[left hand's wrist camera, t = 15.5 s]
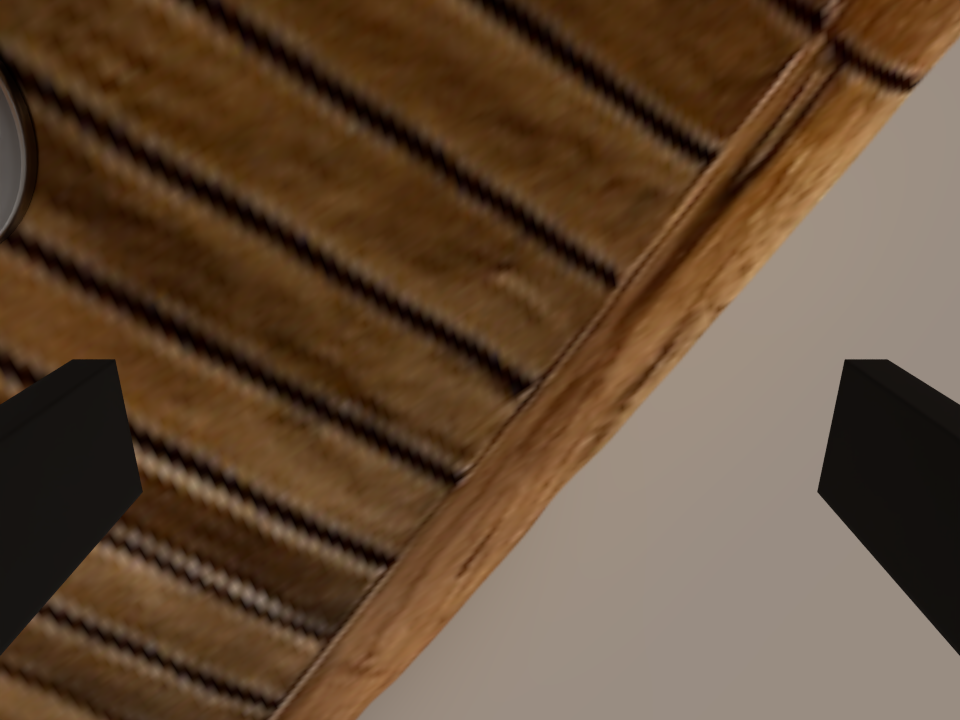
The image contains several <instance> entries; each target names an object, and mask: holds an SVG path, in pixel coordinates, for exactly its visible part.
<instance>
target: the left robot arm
mask: <svg viewBox="0 0 960 720" xmlns="http://www.w3.org/2000/svg"><path fill="white" fill-rule="evenodd" d="M36 175H37V150H36V142H35V135H34V131H33V127H32V123H31V119H30V116H29V113H28V110H27V107H26V105H25V102H24V100H23V98H22V95H21V93H20V91H19V89H18V87H17V85H16V83H15V81H14V79H13V78H12V76H11V74H10V73H9V71H8V70H7V68H6V67H5V65H4V64H3V62H2V61H1V59H0V243H2V242H3V241H4V240H5V239H6V238H8V236H9V235H10V234H11V233H12V232H13V231H14V230H15V229H16V227H17V226H18V225H19V223H20V222H21V220H22V219H23V217H24V215H25V213H26V211H27V209H28V207H29V204H30V202H31V199H32V195H33V192H34V188H35V182H36ZM142 492H143V491H142V486H141V482H140V477H139V472H138V467H137V462H136V457H135V453H134V448H133V443H132V438H131V433H130V429H129V424H128V419H127V414H126V409H125V404H124V400H123V395H122V390H121V385H120V380H119V376H118V371H117V366H116V361H115V359H73V360H71V361H69V362H68V363H66V364H65V365H63V366H61V367H60V368H58V369H57V370H55V371H53V372H52V373H50V374H49V375H47V376H45V377H44V378H42V379H41V380H39V381H37V382H36V383H34V384H33V385H31V386H29V387H28V388H26V389H25V390H23V391H21V392H20V393H18V394H17V395H15V396H14V397H12V398H10V399H9V400H7V401H6V402H4V403H2V404H1V405H0V655H1V654H2V653H3V652H4V651H5V650H6V648H7V647H8V646H9V645H10V644H11V643H12V642H13V640H14V639H15V638H16V637H17V636H18V635H19V633H20V632H21V631H22V630H23V629H24V628H25V627H26V625H27V624H28V623H29V622H30V621H31V620H32V619H33V617H34V616H35V615H36V614H37V613H38V612H39V610H40V609H41V608H42V607H43V606H44V605H45V604H46V602H47V601H48V600H49V599H50V598H51V597H52V596H53V594H54V593H55V592H56V591H57V590H58V589H59V588H60V586H61V585H62V584H63V583H64V582H65V581H66V579H67V578H68V577H69V576H70V575H71V574H72V573H73V571H74V570H75V569H76V568H77V567H78V566H79V565H80V563H81V562H82V561H83V560H84V559H85V558H86V556H87V555H88V554H89V553H90V552H91V551H92V550H93V548H94V547H95V546H96V545H97V544H98V543H99V542H100V540H101V539H102V538H103V537H104V536H105V535H106V533H107V532H108V531H109V530H110V529H111V528H112V527H113V525H114V524H115V523H116V522H117V521H118V520H119V519H120V517H121V516H122V515H123V514H124V513H125V512H126V511H127V509H128V508H129V507H130V506H131V505H132V504H133V502H134V501H135V500H136V499H137V498H138V497H139V496H140V494H141V493H142ZM817 492H818V493H819V494H820V496H821V497H822V498H823V499H824V500H825V501H826V502H827V504H828V505H829V506H830V507H831V508H832V509H833V511H834V512H835V513H836V514H837V515H838V516H839V517H840V519H841V520H842V521H843V522H844V523H845V524H846V525H847V527H848V528H849V529H850V530H851V531H852V532H853V533H854V534H855V536H856V537H857V538H858V539H859V540H860V542H861V543H862V544H863V545H864V546H865V547H866V548H867V550H868V551H869V552H870V553H871V554H872V555H873V556H874V558H875V559H876V560H877V561H878V562H879V563H880V565H881V566H882V567H883V568H884V569H885V570H886V571H887V573H888V574H889V575H890V576H891V577H892V578H893V579H894V581H895V582H896V583H897V584H898V585H899V586H900V587H901V589H902V590H903V591H904V592H905V593H906V594H907V595H908V597H909V598H910V599H911V600H912V601H913V602H914V604H915V605H916V606H917V607H918V608H919V609H920V610H921V612H922V613H923V614H924V615H925V616H926V617H927V618H928V620H929V621H930V622H931V623H932V624H933V625H934V627H935V628H936V629H937V630H938V631H939V632H940V633H941V635H942V636H943V637H944V638H945V639H946V640H947V642H948V643H949V644H950V645H951V646H952V647H953V648H954V650H955V651H956V652H957V653H958V654H959V655H960V405H959V404H958V403H956V402H954V401H953V400H951V399H950V398H948V397H946V396H945V395H943V394H942V393H940V392H938V391H937V390H935V389H934V388H932V387H930V386H929V385H927V384H926V383H924V382H923V381H921V380H919V379H918V378H916V377H915V376H913V375H911V374H910V373H908V372H907V371H905V370H903V369H902V368H900V367H899V366H897V365H895V364H894V363H892V362H891V361H889V360H887V359H884V360H883V359H881V360H880V359H876V360H875V359H867V360H866V359H863V360H862V359H861V360H857V359H856V360H855V359H848V360H847V359H845V361H844V366H843V371H842V376H841V380H840V385H839V390H838V395H837V400H836V404H835V409H834V414H833V419H832V424H831V429H830V433H829V438H828V443H827V448H826V453H825V457H824V462H823V467H822V472H821V477H820V482H819V486H818V491H817Z"/></svg>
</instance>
